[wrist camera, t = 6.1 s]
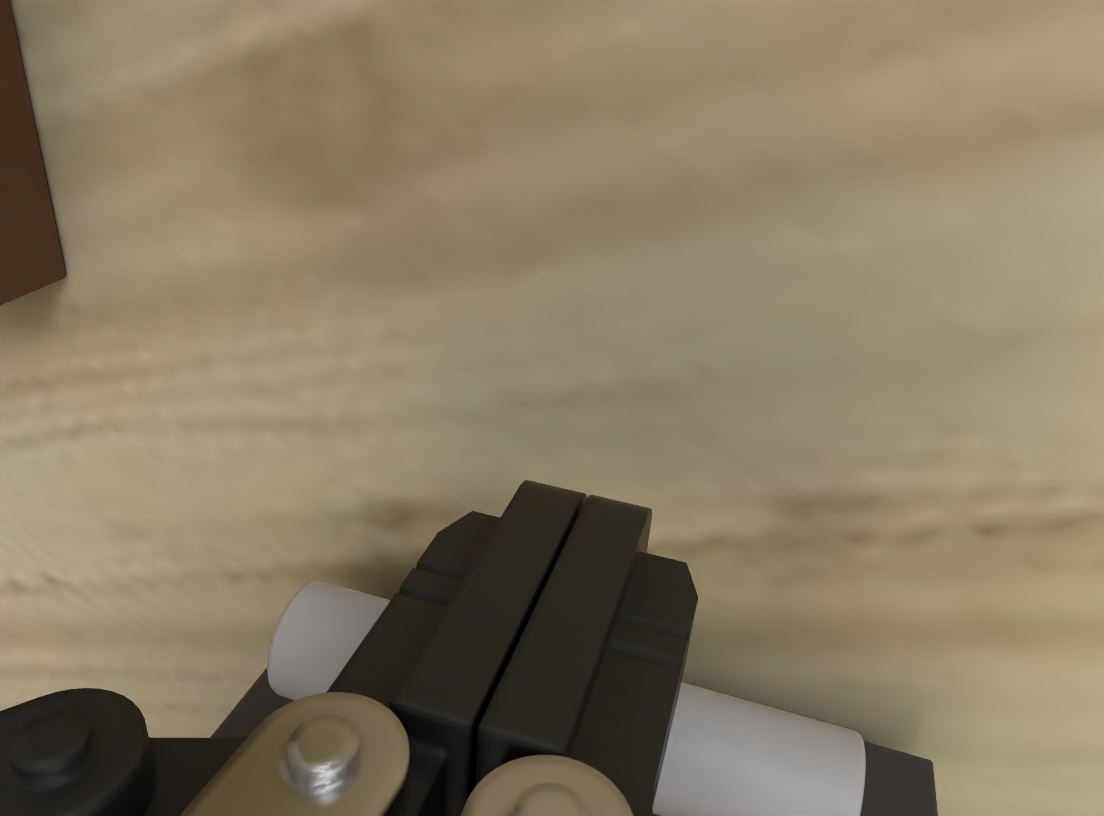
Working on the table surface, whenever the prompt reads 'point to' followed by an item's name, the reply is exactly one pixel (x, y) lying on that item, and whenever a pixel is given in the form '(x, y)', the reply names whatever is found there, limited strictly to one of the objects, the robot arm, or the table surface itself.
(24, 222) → the control block
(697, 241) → the table surface
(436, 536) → the robot arm
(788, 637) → the table surface
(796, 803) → the drawer
